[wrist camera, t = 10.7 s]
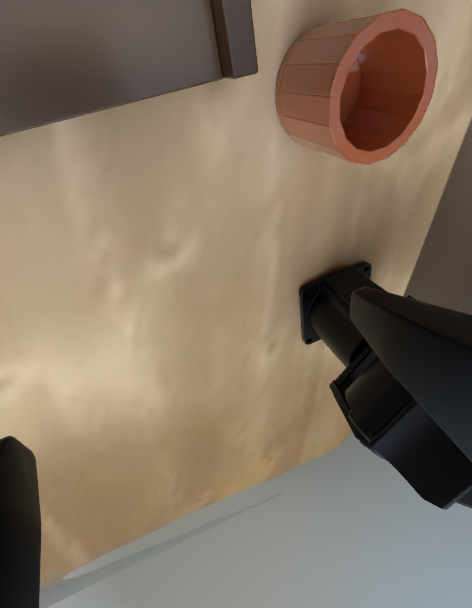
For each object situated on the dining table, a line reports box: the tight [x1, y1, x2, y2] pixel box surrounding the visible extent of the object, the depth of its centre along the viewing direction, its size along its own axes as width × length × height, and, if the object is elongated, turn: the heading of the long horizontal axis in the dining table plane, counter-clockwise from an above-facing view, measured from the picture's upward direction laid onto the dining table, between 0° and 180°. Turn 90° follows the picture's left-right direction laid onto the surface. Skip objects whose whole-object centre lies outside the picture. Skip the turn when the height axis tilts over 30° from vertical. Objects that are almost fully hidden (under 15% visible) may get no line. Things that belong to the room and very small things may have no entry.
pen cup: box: [276, 8, 438, 165], centre depth 16 cm, size 6×6×5 cm
